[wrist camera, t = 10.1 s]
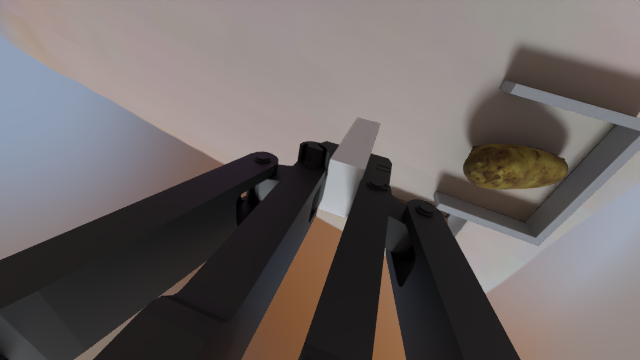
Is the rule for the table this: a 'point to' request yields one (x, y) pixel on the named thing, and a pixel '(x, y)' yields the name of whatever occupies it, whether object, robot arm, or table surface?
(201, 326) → the robot arm
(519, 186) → the potato
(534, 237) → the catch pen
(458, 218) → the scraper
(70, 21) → the table surface
